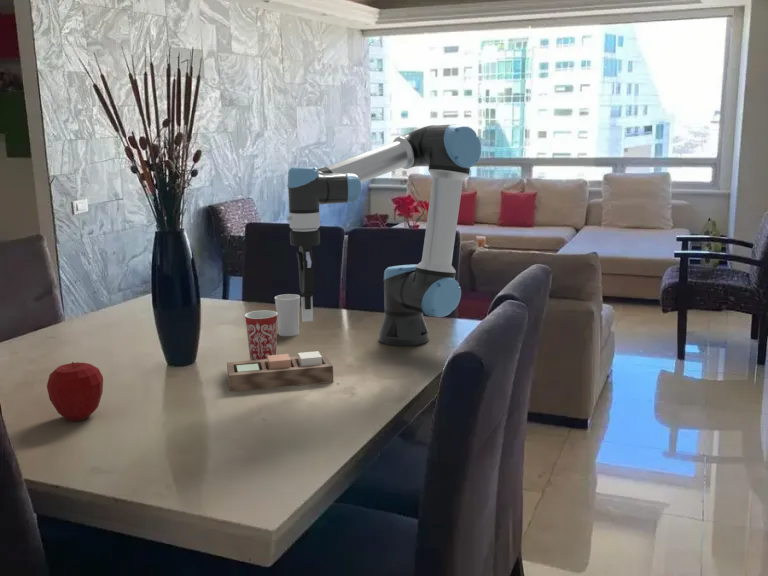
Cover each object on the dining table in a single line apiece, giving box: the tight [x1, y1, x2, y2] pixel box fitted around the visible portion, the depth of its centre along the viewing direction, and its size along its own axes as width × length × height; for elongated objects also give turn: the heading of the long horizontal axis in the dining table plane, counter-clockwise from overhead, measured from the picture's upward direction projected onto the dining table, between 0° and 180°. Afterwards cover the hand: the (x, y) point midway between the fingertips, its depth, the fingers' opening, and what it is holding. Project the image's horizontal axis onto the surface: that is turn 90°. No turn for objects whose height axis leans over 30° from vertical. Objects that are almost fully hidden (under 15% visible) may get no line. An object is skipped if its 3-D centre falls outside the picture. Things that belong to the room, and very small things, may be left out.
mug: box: [244, 310, 278, 361], centre depth 210 cm, size 13×9×14 cm
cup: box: [274, 293, 301, 337], centre depth 236 cm, size 8×8×12 cm
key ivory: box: [297, 350, 322, 367], centre depth 194 cm, size 5×5×4 cm
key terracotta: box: [267, 353, 291, 369], centre depth 192 cm, size 5×5×4 cm
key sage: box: [237, 364, 259, 372], centre depth 190 cm, size 5×5×4 cm
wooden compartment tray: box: [226, 353, 334, 393], centre depth 192 cm, size 26×11×4 cm, turn 104°
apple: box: [46, 361, 104, 422], centre depth 168 cm, size 12×12×13 cm
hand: (307, 320), depth 191 cm, fingers closed
